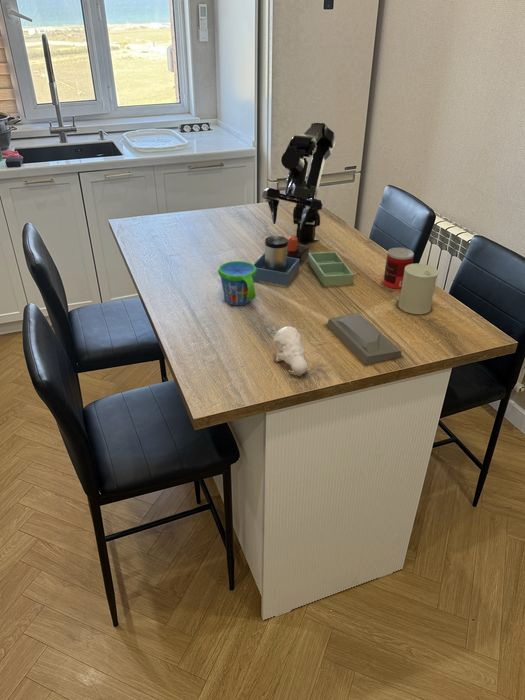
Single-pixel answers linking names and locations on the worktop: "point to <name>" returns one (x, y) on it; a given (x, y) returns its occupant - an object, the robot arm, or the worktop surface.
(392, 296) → the worktop surface
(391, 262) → the canned food
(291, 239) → the tap knob
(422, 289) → the can
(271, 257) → the travel mug
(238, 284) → the snack cup
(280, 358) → the white animal figurine
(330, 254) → the tray
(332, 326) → the soap mold
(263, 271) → the basin
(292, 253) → the black square plate
